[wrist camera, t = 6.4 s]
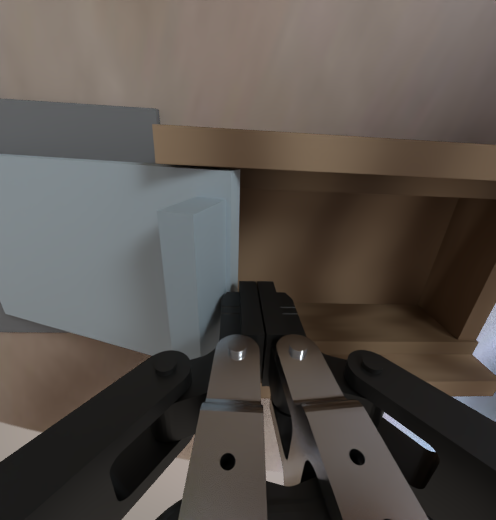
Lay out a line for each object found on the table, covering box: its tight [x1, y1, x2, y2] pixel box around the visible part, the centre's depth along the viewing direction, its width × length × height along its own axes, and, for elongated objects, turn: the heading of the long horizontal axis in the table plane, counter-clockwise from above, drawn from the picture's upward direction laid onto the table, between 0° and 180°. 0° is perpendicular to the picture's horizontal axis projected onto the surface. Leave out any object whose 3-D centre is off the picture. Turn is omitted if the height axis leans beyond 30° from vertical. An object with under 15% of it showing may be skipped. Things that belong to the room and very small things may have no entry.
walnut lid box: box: [152, 124, 496, 398], centre depth 15 cm, size 18×13×7 cm
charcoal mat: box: [0, 99, 160, 333], centre depth 17 cm, size 14×15×1 cm
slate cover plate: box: [0, 154, 240, 360], centre depth 13 cm, size 16×10×4 cm, turn 88°
